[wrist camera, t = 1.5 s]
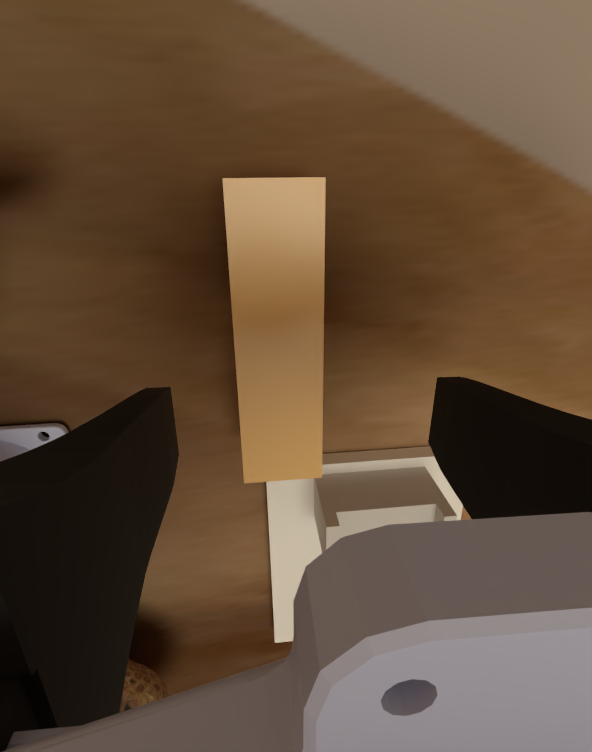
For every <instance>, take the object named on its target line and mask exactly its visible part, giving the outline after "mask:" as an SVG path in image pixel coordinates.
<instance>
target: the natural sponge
mask: <svg viewBox="0 0 592 752" xmlns="http://www.w3.org/2000/svg"><path fill="white" fill-rule="evenodd" d="M166 697H169V696H168V691H167V688H166V684H165V683H164V681H163V680H162V678H161V677H160V676H159V675H158V674H156V673H155V672H154V671H153V670H151V669H150V668H148V667H146V666H144V665H142V664H139V663H135V662H134V661H132V660H130V659H128V664H127V670H126V676H125V682H124V688H123V694H122V699H121V705H120V711H119V713H120V712H123V711H126V710H129V709H132V708H135V707H138V706H142V705H145V704H148V703H151V702H154V701H157V700H160V699H163V698H166Z"/></svg>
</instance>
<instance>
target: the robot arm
mask: <svg viewBox="0 0 592 752" xmlns="http://www.w3.org/2000/svg"><path fill="white" fill-rule="evenodd" d="M41 432H46V433H48V434H49V437H45V436H43V435H42V433H41ZM428 442H429V445H430V447H431V449H432V452H433V454H434V457H435V459H436V461H437V463H438V465H439V468H440V470H441V472H442V473H443V475H444V476H445V478H446V480H447V481H448V483H449V484H450V486H451V488H452V489H453V491H454V492H455V494H456V495H457V497H458V498H459V500H460V501H461V503H462V505H463V506H464V508H465V509H466V511H467V512H468V514H469V515H470V517H471V518H472V519H470V520H454V521H438V522H422V523H406V524H391V525H385V526H382V527H378V528H374V529H371V530H367V531H363V532H360V533H356V534H352V535H349V536H345V537H342V538H340V539H339V540H338V541H336V542H335V543H334V544H333V545H332V546H330V547H329V548H328V549H327V550H325V551H324V552H323V553H322V554H321V555H319V556H318V557H317V558H316V559H314V560H313V561H312V562H311V563H310V564H308V565H307V566H306V567H305V570H304V573H303V576H302V579H301V581H300V584H299V587H298V590H297V593H296V595H295V598H294V601H293V608H294V637H293V643H292V648H291V652H290V654H289V656H287V657H286V658H284V659H281V660H278V661H275V662H272V663H269V664H265V665H262V666H259V667H256V668H253V669H250V670H247V671H244V672H241V673H238V674H235V675H232V676H229V677H226V678H223V679H220V680H217V681H214V682H211V683H208V684H205V685H202V686H199V687H196V688H193V689H190V690H187V691H184V692H181V693H178V694H175V695H172V696H169V697H166V698H163V699H160V700H157V701H154V702H151V703H148V704H145V705H142V706H138V707H135V708H132V709H129V710H126V711H123V712H120V713H119V711H120V705H121V699H122V694H123V688H124V682H125V676H126V670H127V664H128V659H129V653H130V648H131V643H132V637H133V632H134V627H135V622H136V616H137V611H138V607H139V602H140V597H141V592H142V587H143V583H144V578H145V573H146V570H147V566H148V563H149V559H150V556H151V552H152V549H153V546H154V543H155V540H156V537H157V534H158V531H159V528H160V525H161V522H162V519H163V516H164V513H165V510H166V507H167V504H168V501H169V498H170V495H171V492H172V488H173V485H174V480H175V474H176V468H177V462H178V456H179V452H178V444H177V436H176V428H175V420H174V412H173V404H172V396H171V388H170V387H162V388H146V389H143V390H141V391H139V392H137V393H135V394H134V395H132V396H130V397H129V398H127V399H125V400H124V401H122V402H120V403H119V404H117V405H116V406H114V407H112V408H111V409H109V410H107V411H106V412H104V413H102V414H101V415H99V416H97V417H96V418H94V419H92V420H90V421H88V422H87V423H85V424H83V425H81V426H79V427H78V428H76V429H74V430H72V431H70V432H69V433H68V430H67V428H66V427H65V426H64V425H61V424H59V423H49V424H33V425H17V426H1V427H0V752H592V420H591V419H587V418H583V417H580V416H576V415H573V414H569V413H566V412H563V411H560V410H557V409H554V408H551V407H548V406H545V405H542V404H539V403H536V402H533V401H530V400H528V399H525V398H522V397H519V396H517V395H514V394H511V393H508V392H506V391H503V390H500V389H498V388H495V387H492V386H489V385H487V384H484V383H481V382H478V381H475V380H471V379H468V378H463V377H438V378H437V383H436V390H435V397H434V405H433V412H432V419H431V426H430V434H429V441H428Z"/></svg>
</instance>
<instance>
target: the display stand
mask: <svg viewBox="0 0 592 752" xmlns="http://www.w3.org/2000/svg"><path fill="white" fill-rule="evenodd" d="M266 486H267V505H268V523H269V542H270V561H271V580H272V599H273V617H274V635H275V643H277V642H287V641H293V637H294V608H293V601H294V598H295V595H296V593H297V590H298V587H299V584H300V581H301V579H302V576H303V573H304V570H305V567H306V566H307V565H308V564H310V563H311V562H312V561H313V560H314V559H316V558H317V557H318V556H319V555H321V554H322V553H323V552H324V551H325V550H327V549H328V548H329V547H330V546H332V545H333V544H334V543H335V542H336V541H338V540H339V539H340V538H342V537H345V536H349V535H352V534H356V533H360V532H363V531H367V530H371V529H374V528H378V527H382V526H385V525H391V524H406V523H422V522H438V521H454V520H461V514H462V508H463V505H462V503H461V501H460V500H459V498H458V497H457V495H456V494H455V492H454V491H453V489H452V488H451V486H450V484H449V483H448V481H447V480H446V478H445V476H444V475H443V473H442V472H441V470H440V468H439V465H438V463H437V461H436V459H435V457H434V454H433V452H432V449H431V447H430V446H426V447H412V448H398V449H384V450H371V451H357V452H343V453H329V454H322V478H310V479H296V480H283V481H269V482H266Z"/></svg>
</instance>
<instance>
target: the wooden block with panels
mask: <svg viewBox="0 0 592 752" xmlns="http://www.w3.org/2000/svg"><path fill="white" fill-rule="evenodd" d="M222 179H223V193H224V207H225V221H226V235H227V249H228V263H229V277H230V291H231V305H232V319H233V333H234V347H235V361H236V375H237V389H238V403H239V417H240V431H241V445H242V459H243V473H244V483H255V482H269V481H283V480H296V479H310V478H322V442H323V357H324V272H325V187H326V177H293V178H222Z"/></svg>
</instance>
